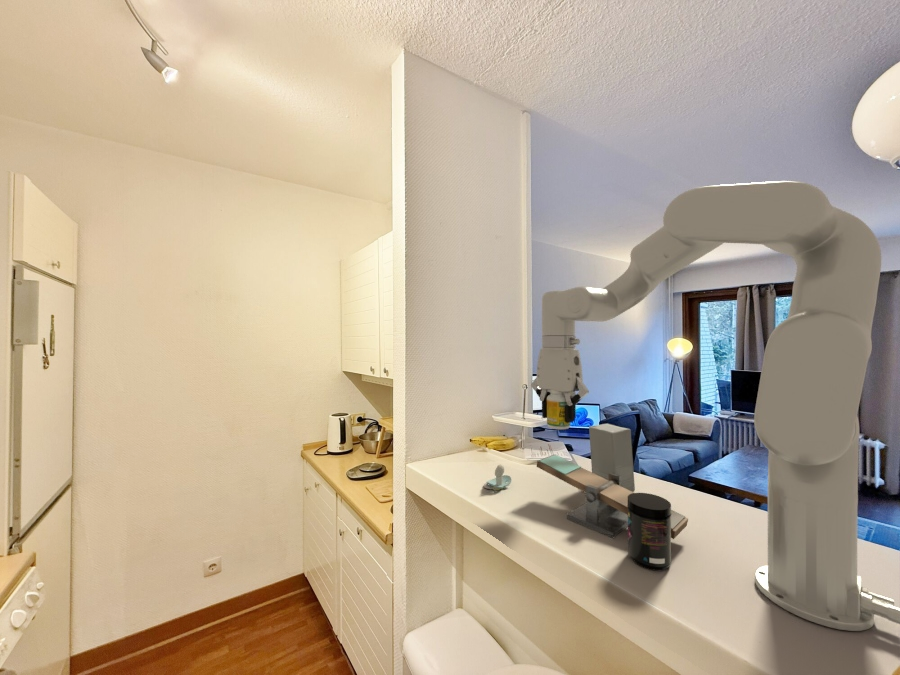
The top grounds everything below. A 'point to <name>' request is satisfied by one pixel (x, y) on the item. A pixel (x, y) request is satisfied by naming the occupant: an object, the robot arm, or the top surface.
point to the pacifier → (498, 479)
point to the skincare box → (612, 453)
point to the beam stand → (600, 512)
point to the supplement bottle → (556, 410)
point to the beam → (607, 489)
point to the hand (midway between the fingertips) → (558, 418)
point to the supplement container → (649, 530)
